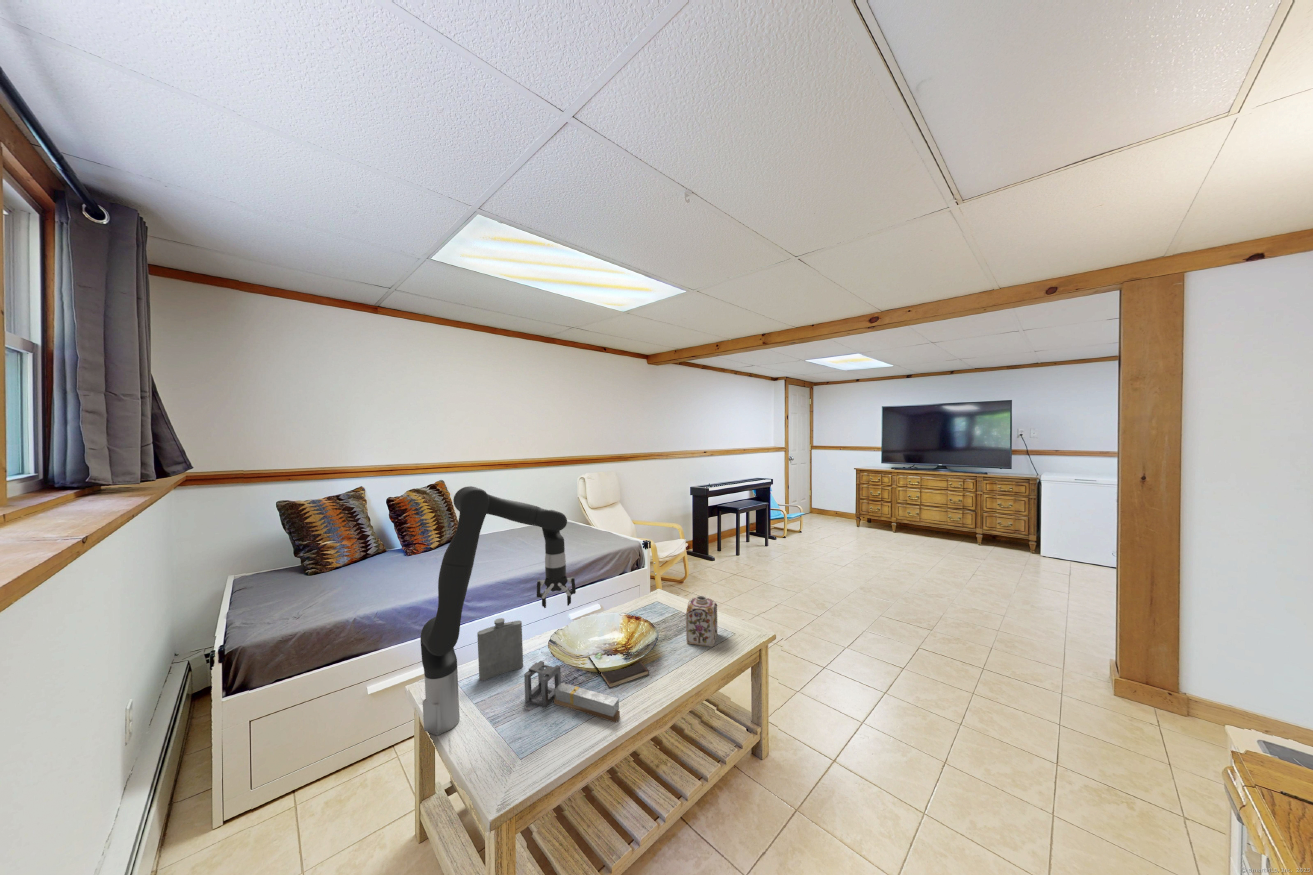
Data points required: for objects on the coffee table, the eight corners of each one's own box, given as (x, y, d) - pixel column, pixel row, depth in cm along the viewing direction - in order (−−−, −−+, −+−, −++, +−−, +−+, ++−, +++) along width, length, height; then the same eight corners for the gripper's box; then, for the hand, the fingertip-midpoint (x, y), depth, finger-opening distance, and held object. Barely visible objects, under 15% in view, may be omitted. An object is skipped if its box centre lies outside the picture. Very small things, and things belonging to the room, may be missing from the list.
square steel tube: (619, 709, 134) (618, 697, 134) (613, 716, 131) (612, 705, 131) (562, 692, 143) (561, 681, 143) (555, 699, 140) (555, 688, 139)
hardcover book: (609, 689, 148) (609, 683, 148) (587, 657, 168) (587, 652, 168) (649, 675, 156) (649, 669, 156) (623, 646, 176) (623, 641, 176)
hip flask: (480, 681, 153) (477, 628, 152) (478, 676, 157) (475, 623, 156) (524, 667, 162) (522, 616, 161) (521, 662, 165) (519, 612, 164)
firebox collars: (545, 708, 138) (544, 678, 138) (525, 701, 142) (524, 672, 141) (561, 692, 146) (560, 664, 146) (541, 686, 150) (540, 658, 149)
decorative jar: (685, 643, 176) (685, 601, 175) (691, 630, 187) (690, 590, 186) (714, 647, 173) (713, 604, 172) (718, 633, 184) (717, 593, 183)
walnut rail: (615, 722, 131) (615, 716, 131) (554, 703, 141) (554, 697, 141) (619, 716, 134) (619, 710, 134) (559, 698, 143) (558, 692, 143)
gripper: (534, 568, 152) (536, 612, 153) (574, 565, 155) (576, 608, 156) (536, 562, 160) (538, 603, 160) (574, 558, 162) (575, 599, 163)
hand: (556, 605), depth 158 cm, fingers open, 8 cm apart
